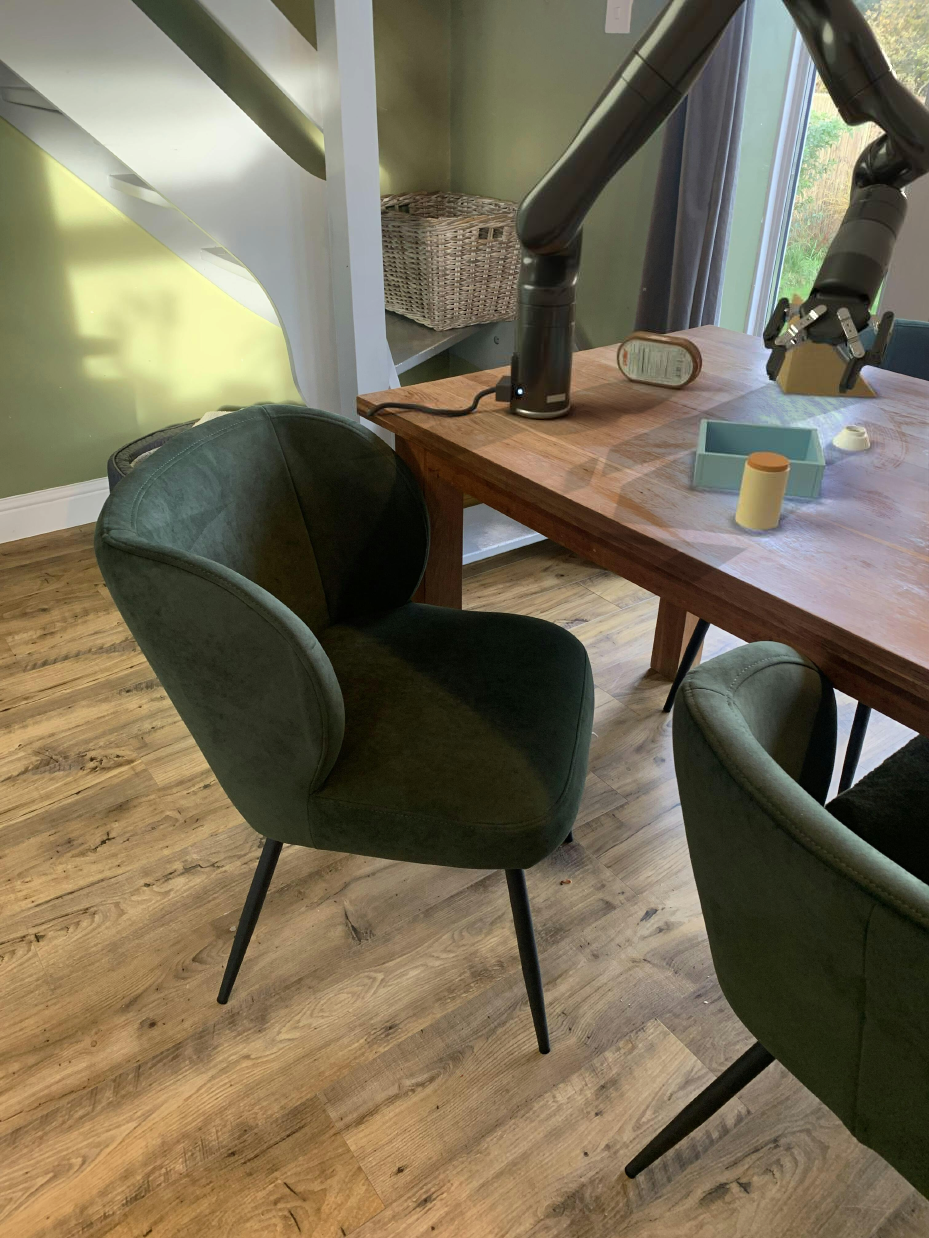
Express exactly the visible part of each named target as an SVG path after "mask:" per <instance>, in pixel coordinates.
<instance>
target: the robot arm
mask: <svg viewBox="0 0 929 1238" xmlns="http://www.w3.org/2000/svg"><path fill="white" fill-rule="evenodd" d="M746 1H747V0H667V1H666V3H665V4H664V5H663V7H661V9H660V10H659V11H658V13H657V14H656V15H655V16H654V18H653V19H652V21H651V22H650V23H649V24H648V25H647V26H646V29H645V30H644V31H643V32H642V33H641V35H640V36H639V37H638V39H637V40H636V41H635V43H634V44H633V45H632V47H631V48H630V50H629V51H628V52H627V54H626V55H625V56H624V58H623V59H622V60H621V62H620V63H619V65H618V67H617V68H616V69H615V70H614V72H613V74H612V75H611V77H610V78H609V80H608V81H607V83H605V86H604V87H603V89H602V90H601V92H600V93H599V95H598V96H597V98H596V100H595V101H594V103H593V104H592V106H591V107H590V109H589V111H588V113H587V114H586V116H585V118H584V119H583V121H582V123H581V124H580V127H579V128H578V130H577V131H576V133H575V134H574V137H573V138H572V139H571V141H570V143H569V144H568V146H567V147H566V148H565V150H564V151H563V152H562V153H561V155H560V156H559V157H558V158H557V159H556V161H555V162H554V163H553V164H552V165H551V167H549V169H548V170H547V171H546V173H544V174H543V176H542V177H541V178H540V179H539V180H538V181H537V182H536V184H534V186H533V187H532V188H531V189H530V190H529V191H527V193H526V194H525V195H524V196H523V197H522V198H521V200H520V202H519V203H518V205H517V208H516V211H515V215H514V233H515V237H516V240H517V241H518V243H519V245H520V247H521V248H520V262H519V263H520V264H519V269H518V275H517V279H516V284H515V314H514V315H515V317H514V320H515V321H514V344H513V345H514V346H513V347H514V348H513V349H514V350H513V351H512V352H511V355H510V374H509V375H506V374H505V375H502V376H501V377H500V379H499V380H498V382H497V383H496V384H495V386H492V387H489V388H485V389H484V390H482V391H480V392H478V393H477V394H476V395H475V396H474V398H473V401H472V404H471V405H470V406H468V407H466V408H464V409H444V408H434V407H429V406H425V405H421V404H416V403H403V402H393V401H387V402H382V403H379V404H377V405H375V406H374V407H372V408H371V409H370V410H369V411H368V412H367V413H366V417H373V416H374V415H375V414H376V413H378V412H380V411H382V410H384V409H398V410H413V411H419V412H422V413H427V414H428V415H429V414H430V415H435V416H452V417H459V416H465V415H468V414H470V413H473V412H475V410H476V409H477V408H478V406H479V403H480V400H481V399H482V398H484V397H485V396H488V395H492V394H494V396H495V397H494V398H495V399H494V401H495V402H497V403H498V402H500V403H509V408H508V409H509V410H508V411H509V414H515V415H518V416H521V417H525V418H529V419H539V420H540V419H541V420H542V419H543V420H546V419H556V418H560V417H563V416H566V415H568V413H569V412H570V411H571V388H572V386H571V385H572V374H573V373H572V372H573V357H574V344H575V343H574V341H575V330H576V329H575V327H576V312H577V296H578V289H579V288H578V287H579V281H580V276H581V267H582V266H581V265H582V254H583V244H584V243H583V241H584V228H585V218H587V217H586V216H587V215H588V214H589V212H590V211H591V209H592V207H593V206H594V204H595V202H596V201H597V199H598V198H599V197H600V195H601V194H602V192H603V191H604V190H605V188H606V187H607V186H608V184H609V183H610V182H611V181H612V180H613V178H615V176H616V175H617V174H618V173H619V172H620V171H621V170H622V169H623V168H624V167H625V166H626V165H627V164H628V163H629V162H630V161H631V160H632V159H633V158H634V157H635V156H636V155H637V154H638V153H639V152H640V151H641V150H642V149H643V148H644V147H645V146H646V145H647V144H648V142H649V141H650V140H651V139H652V138H653V137H654V136H655V135H656V133H657V132H659V130H660V129H661V128H662V127H663V126H664V124H665V123H666V122H667V121H668V119H669V118H670V117H671V116H672V114H673V113H674V112H675V110H676V109H677V108H678V107H679V105H680V104H681V103H682V102H683V100H684V99H685V97H686V96H687V95H688V93H689V92H690V90H691V89H692V88H693V86H694V85H695V83H696V82H697V80H698V79H699V78H700V76H701V74H702V72H703V71H704V69H705V68H706V66H707V64H708V63H709V61H710V59H711V57H712V56H713V54H714V52H715V50H716V48H717V47H718V45H719V43H720V41H721V39H722V38H723V35H724V33H725V32H726V30H727V28H729V25H730V23H731V22H732V20H733V18H734V17H735V15H736V14H737V13H738V11H739V10H740V9H741V7H742V6H743V5H744V3H745V2H746ZM781 2H782V3H783V5H784V7H785V8H786V10H787V12H788V13H789V15H790V16H791V18H792V20H793V22H794V23H795V25H796V28H797V30H798V31H799V33H800V35H801V38H802V40H803V42H804V44H805V47H806V49H807V51H808V53H809V56H810V58H811V60H812V62H813V65H814V66H815V67H814V68H815V69H816V71H817V73H818V75H819V77H820V79H821V81H822V83H823V85H824V87H825V89H826V90H827V93H828V95H829V97H830V99H831V101H832V102H833V105H834V106H835V108H836V109H837V112H838V114H839V116H840V117H841V119H842V121H843V122H844V123H845V125H846V126H848V127H851V128H854V127H858V126H862V125H864V124H867V123H873V124H875V125H876V126H878V127H879V128H880V129H881V130H882V131H883V132H884V133H883V134H881V135H880V136H878V137H877V138H875V139H874V140H872V141H871V142H870V143H869V144H867V145H866V146H865V148H864V149H863V150H862V151H861V153H860V154H859V156H858V158H857V159H856V162H855V163H854V166H853V170H852V175H851V181H850V182H851V183H850V191H849V203H848V207H847V208H846V211H845V213H844V216H843V218H842V221H841V223H840V226H839V227H838V230H837V233H836V234H835V236H834V237H833V239H832V240H831V242H830V244H829V247H828V249H827V251H826V254H825V256H824V258H823V261H822V262H821V266H820V268H819V270H818V272H817V275H816V278H815V279H814V283H813V284H812V287H811V290H810V292H809V295H808V297H807V299H806V300H804V303H803V304H802V305H798V304H793V303H792V302H790V299H789V298H788V297H781V298H779V300H778V301H777V304H776V306H775V308H774V310H773V311H772V314H771V316H770V318H769V320H768V322H767V324H766V326H765V328H764V330H763V333H762V341H763V345H764V348H765V349H767V350H771V352H770V355H769V356H768V359H767V361H766V364H765V372H766V376H768V380H769V381H771V382H776V381H777V378H778V374H779V372H780V370H781V367H782V365H783V362H784V360H785V358H786V355H785V354H786V353H788V352H789V351H791V350H792V349H794V348H795V347H800V346H802V345H803V344H805V343H806V342H808V341H809V340H811V341H812V343H816V344H823V343H825V344H828V345H830V346H836V347H838V346H841V345H844V348H845V350H846V352H847V354H848V356H849V361H848V364H847V366H846V369H845V371H844V373H843V376H842V378H841V381H840V384H839V393H843V394H846V392H847V390H852V389H853V388H854V387H855V384H856V382H857V379H858V377H859V374H860V373H861V371H862V370H863V368H864V367H866V366H873V367H879V366H881V365H882V364H883V361H884V358H885V356H886V352H887V349H888V346H889V342H890V339H891V336H892V333H893V331H894V328H895V327H894V325H895V313H894V312H893V311H891V310H888V311H885V312H884V313H883V314H873V313H871V311H872V308H873V307H874V304H875V301H876V299H877V296H878V294H879V291H880V289H881V287H882V285H883V281H884V279H885V278H886V276H887V274H888V272H889V267H890V264H891V262H892V258H893V254H894V249H895V247H896V243H897V241H898V239H899V236H900V234H901V231H902V228H903V226H904V224H905V221H906V219H907V215H908V211H909V201H908V200H909V199H908V197H907V196H906V194H905V193H904V191H902V189H904V188H905V187H907V186H909V185H910V184H912V183H913V182H915V181H917V180H919V179H921V178H922V177H924V176H926V175H928V174H929V107H927V106H926V105H925V104H924V103H923V102H922V100H920V99H919V98H918V97H917V96H916V95H915V93H913V92H912V91H911V90H910V89H909V88H908V87H907V86H906V85H905V84H904V83H903V82H902V81H901V80H900V79H899V77H898V75H897V74H896V71H895V70H894V68H893V65H892V63H891V62H890V59H889V57H888V55H887V54H886V52H885V50H884V48H883V45H882V44H881V42H880V41H879V38H878V36H877V35H876V33H875V32H874V30H873V28H872V27H871V25H870V23H869V22H868V21H867V18H866V17H865V16H864V14H863V12H862V11H861V10H860V8H859V7H858V5H857V4H856V3H855V1H854V0H781ZM797 315H799V317H800V320H799V321H797V322H796V323H794V324H793V325H792V326H791V327H790V329H789V330H788V331H785V332H783V333H782V331H783V329H784V326H785V325H786V323H788V322H790V320H791V319H792V318H793V317H794V316H797ZM869 326H871V327H872V331H873V334H875V335H876V336H875V339H874V342H873V344H872V348H871V349H864V346H863V344H862V342H861V340H860V335H859V334H860V333H862V332H863V331H865V330H866V329H867V328H868V327H869ZM803 330H804V332H803V333H802V331H803ZM781 333H782V334H781Z"/></svg>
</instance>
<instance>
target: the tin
mask: <svg viewBox="0 0 929 1238" xmlns="http://www.w3.org/2000/svg"><path fill="white" fill-rule="evenodd" d="M616 364H617V367H618V369H619V371H620V373H621V374H622V375H623V376H624V377H625V378H626V379H627V380H630V381H632V382H634V383H635V382H636V383H641V384H647V385H651V386H656V387H657V386H658V387H663V388H667V389H674V390H676V389H682V388H684V387H687V386H688V385H690V384H691V383H693V382H694V381H695V380H696V379H697V378H698V377H699V375H700V373H701V372H702V368H703V357H702V353H701V351H700V349H699V347H698V346H697V345H696V344H695V343H694V342H693V341H691V340H689V339H688V338H684V337H679V336H673V335H667V334H661V333H654V332H648V331H641V330H640V331H635V332H633V333H631V334H629V335H628V336H627V337H626V338H625V339H623V341H622V342H621V343H620V344H619V346H618V347H617V351H616Z"/></svg>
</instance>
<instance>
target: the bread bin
mask: <svg viewBox="0 0 929 1238" xmlns="http://www.w3.org/2000/svg"><path fill="white" fill-rule="evenodd" d="M695 452H696V454H695V464H694V473H693V482H692V486H693V487H698V488H708V489H718V490H728V491H739V492H740V490H741V484H742V479H743V473H744V468H745V462H746V461H747V460H748V457H749V455H750V454H753V453H757V452H770V453H776V454H779V455H782V456H784V457H786V458H787V459H788V460H789V467H790V469H789V474H788V479H787V484H786V488H785V493H784V496H787V497H798V498H799V497H800V498H806V499H807V498H808V499H819V495H820V490H821V488H822V483H823V479H824V474H825V471H826V460H825V457H824V453H823V448H822V443H821V439H820V436H819V431H818V428H811V427H802V426H801V427H800V426H790V425H789V426H788V425H777V424H765V423H752V422H743V421H741V422H739V421H730V420H728V421H727V420H719V419H706V418H701V420H700V425H699V433H698V439H697V445H696V451H695Z"/></svg>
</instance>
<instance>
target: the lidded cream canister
mask: <svg viewBox="0 0 929 1238" xmlns="http://www.w3.org/2000/svg"><path fill="white" fill-rule="evenodd" d="M789 469H790V467H789V460H788V459H787V458H786V457H784V456H782V455H779V454H776V453H770V452H757V453H753V454H750V455H749V457H748V460H747V461H746V462H745V468H744V473H743V479H742V484H741V490H740V491H739V495H738V501H737V506H736V512H735V517H734V519H735V522H736V523H737V524H738V525H740V526H741V527H745V528H747V529H751V530H756V531H766V530H767V531H768V530H773V529H775V528H777V526H778V525H779V521H780V516H781V512H782V507H783V502H784V497H785V495H784V493H785V488H786V484H787V479H788V474H789Z"/></svg>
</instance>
